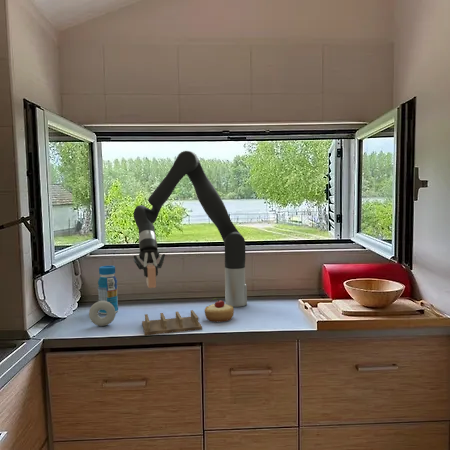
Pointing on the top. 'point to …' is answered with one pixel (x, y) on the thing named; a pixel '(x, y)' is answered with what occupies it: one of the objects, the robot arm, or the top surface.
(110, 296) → the beverage bottle
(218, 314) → the pastry
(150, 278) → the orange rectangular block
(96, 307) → the donut
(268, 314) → the top surface
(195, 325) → the dish stand
